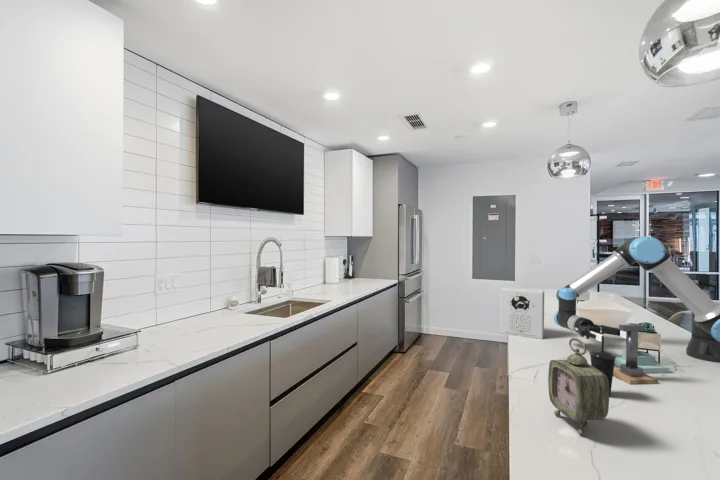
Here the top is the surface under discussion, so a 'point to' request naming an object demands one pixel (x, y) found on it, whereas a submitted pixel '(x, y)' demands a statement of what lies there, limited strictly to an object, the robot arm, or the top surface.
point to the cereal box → (522, 312)
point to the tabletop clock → (578, 388)
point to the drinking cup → (604, 362)
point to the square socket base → (644, 363)
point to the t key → (632, 350)
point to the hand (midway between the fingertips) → (618, 338)
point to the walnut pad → (634, 378)
